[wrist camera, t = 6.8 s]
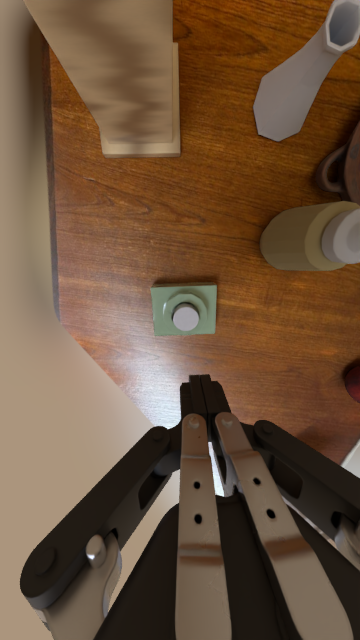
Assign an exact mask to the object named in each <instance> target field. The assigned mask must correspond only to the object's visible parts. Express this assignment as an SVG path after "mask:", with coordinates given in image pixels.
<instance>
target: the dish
mask: <svg viewBox="0 0 360 640" xmlns="http://www.w3.org/2000/svg"><path fill="white" fill-rule="evenodd" d="M335 160H336V161H338V163H339V170H338V181H337V182H335V183H331V182H329V180H328V179H327V170H328V168H329V166H330V165H331V164H332V163H333V162H334V161H335ZM315 177H316V183H317V185H318V186H319V188H321V189H322V190H324V191H328V192H338V193H340V195H341V197H342V199H343V201H347V202H353V203H357V204H358V205H359V206H360V121H359V122H358V124H357V125H356V127H355V129H354V130H353V132H352V134H351V135H350V137H349V139H348V141H347V143H346V144H345V145H344V146H342V147H340V148H339V149H337V150H335V151H334V152H332V153H331V154H329V155H328V156H327V157H326V158H325V159H324V160H323V161H322V162H321V163H320V165H319V167H318V169H317V171H316V175H315Z"/></svg>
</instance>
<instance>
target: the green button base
mask: <svg viewBox="0 0 360 640" xmlns="http://www.w3.org/2000/svg"><path fill="white" fill-rule="evenodd" d="M216 296H217V285H216V284H214V283H213V282H198V283H168V284H153V285H152V286H151V297H152V310H153V322H154V334H155V336H167V335H192V334H215V322H216ZM183 303H188V304H191V305H192V306H194V307H195V309H196V311H197V314H198V317H199V320H198V324H197V325H196V327H195V328H193V329H192V330H189V331H182V330H180V329H178V328H177V327H176V326H175V324H174V322H173V312H174V310H175V308H176V307H177V306H178V305H180V304H183Z"/></svg>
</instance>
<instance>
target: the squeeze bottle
mask: <svg viewBox="0 0 360 640" xmlns="http://www.w3.org/2000/svg"><path fill="white" fill-rule="evenodd" d="M259 244H260V251H261V253H262V254H263V256H264V258H265V259H266V261H267V262H268V263H269V264H270V265H272V266H273V267H275V268H276V269H281V270H302V271H331V270H335V269H339V268H342V267H343V266H345V265H346V264H348V263H349V264H354V263H358V262H360V206H359V205H358V204H357V203H353V202H347V201H340V202H333V203H325V204H318V205H311V206H304V207H296V208H292V209H288V210H285V211H282V212H281V213H280V214H278V215H277V216H276V217H274V218H273V219H272V220H271V222H270V223H269V224H268V226H267V227H266V228H265V230H264V231H263V233H262V234H261V238H260V242H259Z"/></svg>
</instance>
